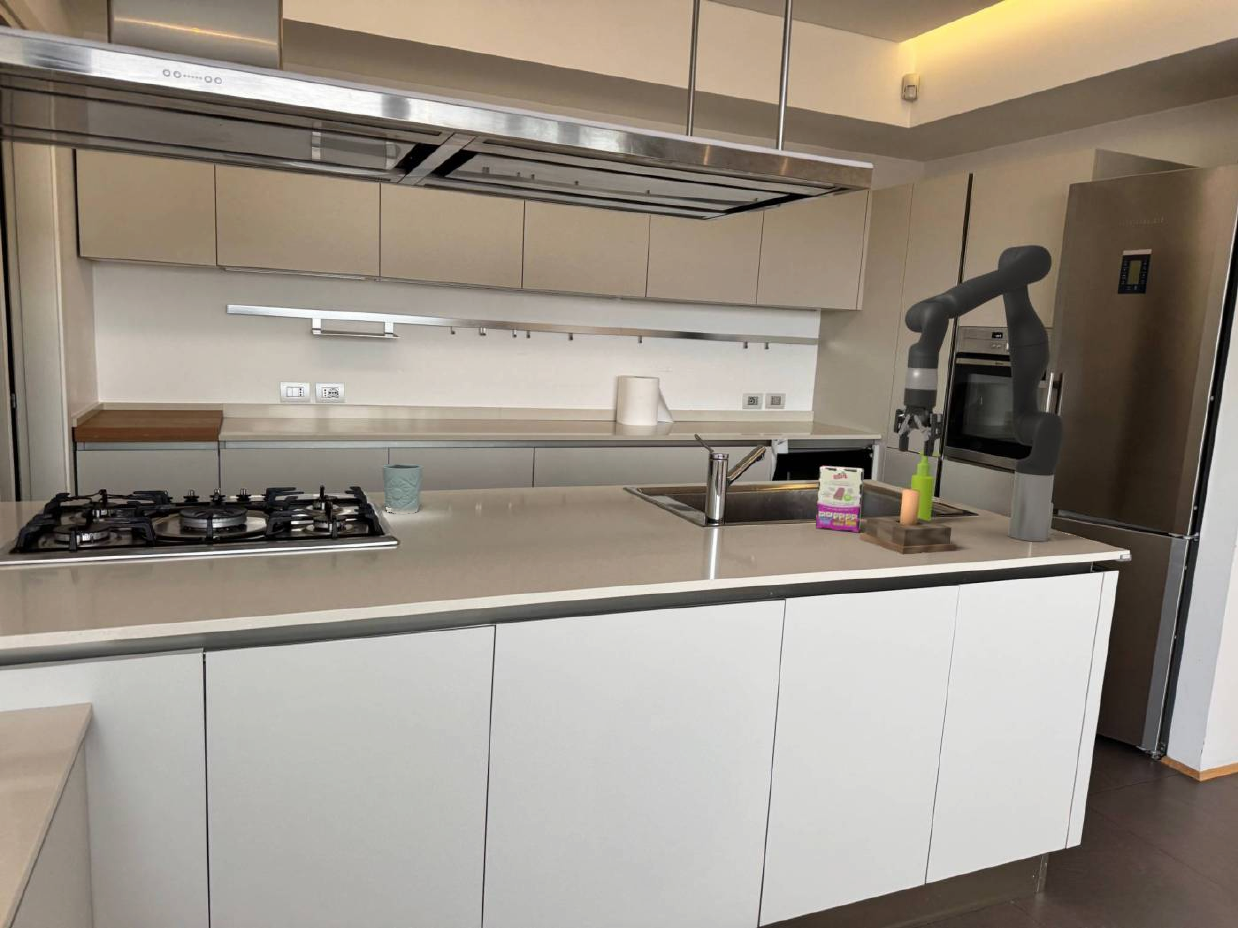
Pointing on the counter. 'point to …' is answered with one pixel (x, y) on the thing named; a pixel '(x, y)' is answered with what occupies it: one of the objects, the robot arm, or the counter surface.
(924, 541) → the socket block
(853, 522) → the candy bar box
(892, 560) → the counter surface
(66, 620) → the counter surface
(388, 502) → the teal embossed pot
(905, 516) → the wooden pin
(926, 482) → the soap dispenser
